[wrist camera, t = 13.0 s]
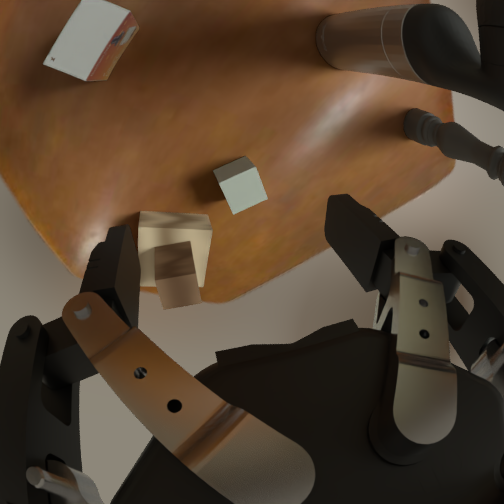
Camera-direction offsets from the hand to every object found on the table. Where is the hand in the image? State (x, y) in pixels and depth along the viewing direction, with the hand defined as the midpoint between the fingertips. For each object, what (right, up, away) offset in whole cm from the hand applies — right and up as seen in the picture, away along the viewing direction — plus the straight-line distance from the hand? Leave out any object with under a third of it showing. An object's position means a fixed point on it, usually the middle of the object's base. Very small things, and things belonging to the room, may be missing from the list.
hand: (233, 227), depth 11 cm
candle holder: (+30, +22, +31) cm, 49 cm away
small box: (-17, +24, +14) cm, 33 cm away
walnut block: (-10, -2, +29) cm, 30 cm away
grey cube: (-2, +10, +29) cm, 31 cm away
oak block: (-12, +1, +33) cm, 35 cm away
